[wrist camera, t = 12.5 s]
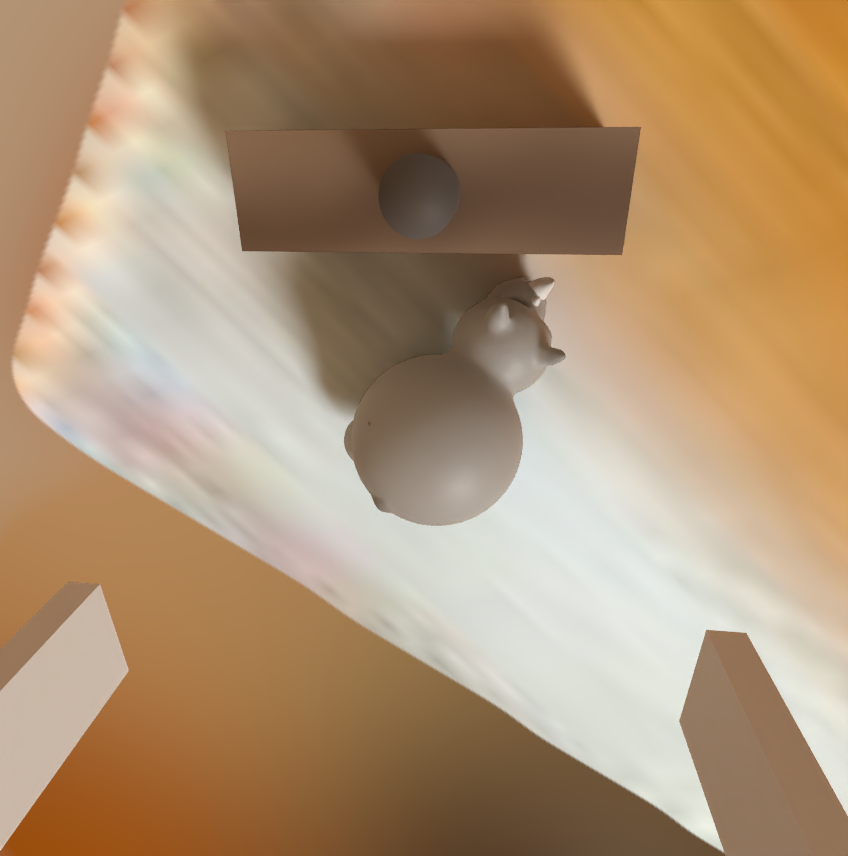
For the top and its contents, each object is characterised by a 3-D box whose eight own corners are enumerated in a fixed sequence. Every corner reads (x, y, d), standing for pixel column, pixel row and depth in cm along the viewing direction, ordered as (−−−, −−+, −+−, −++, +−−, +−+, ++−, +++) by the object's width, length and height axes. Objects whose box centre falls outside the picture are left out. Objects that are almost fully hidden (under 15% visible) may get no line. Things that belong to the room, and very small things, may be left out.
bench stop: (274, 138, 23) (183, 124, 16) (608, 136, 22) (669, 119, 15) (285, 236, 25) (206, 263, 18) (595, 239, 24) (644, 268, 17)
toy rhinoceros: (568, 337, 29) (664, 332, 20) (430, 519, 29) (470, 588, 20) (462, 247, 27) (519, 202, 19) (318, 440, 27) (311, 480, 19)
